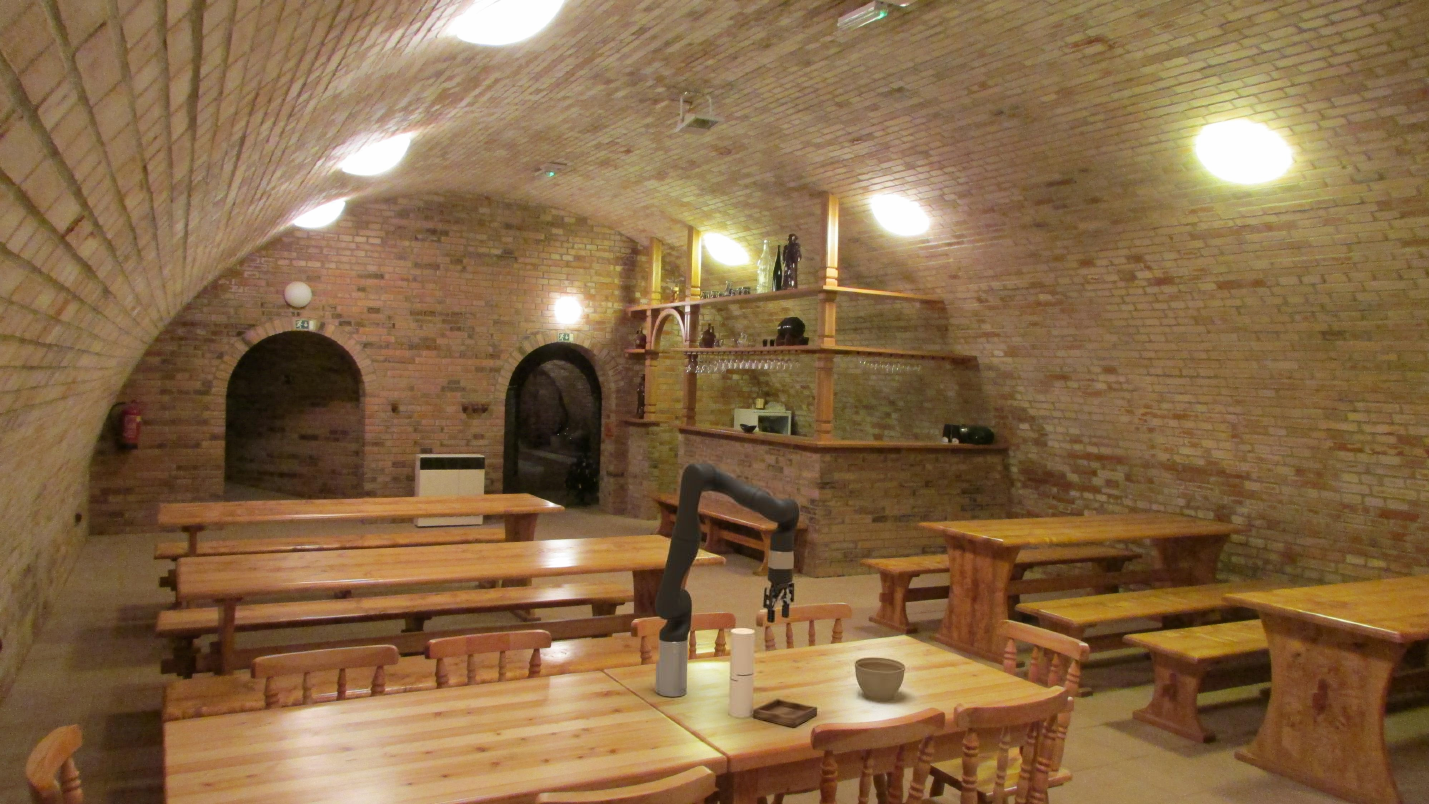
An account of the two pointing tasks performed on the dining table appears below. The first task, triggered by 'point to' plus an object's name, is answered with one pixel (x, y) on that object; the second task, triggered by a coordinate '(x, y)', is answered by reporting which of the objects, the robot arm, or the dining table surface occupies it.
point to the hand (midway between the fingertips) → (778, 619)
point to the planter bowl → (879, 677)
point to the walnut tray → (785, 712)
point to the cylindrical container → (741, 672)
